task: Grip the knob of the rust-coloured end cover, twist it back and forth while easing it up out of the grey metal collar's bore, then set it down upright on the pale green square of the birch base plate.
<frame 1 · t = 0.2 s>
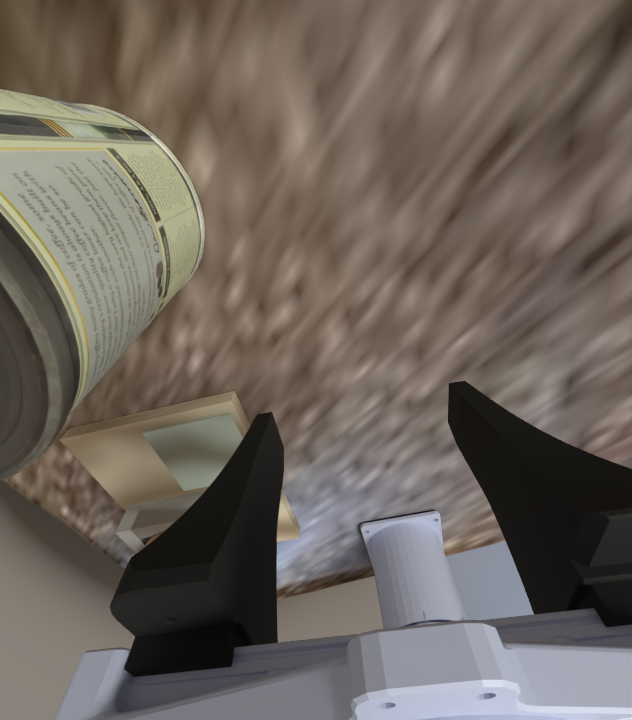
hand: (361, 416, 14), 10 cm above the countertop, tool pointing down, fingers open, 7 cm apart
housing: (198, 483, 31), on the countertop
coffee can: (115, 217, 19), on the countertop
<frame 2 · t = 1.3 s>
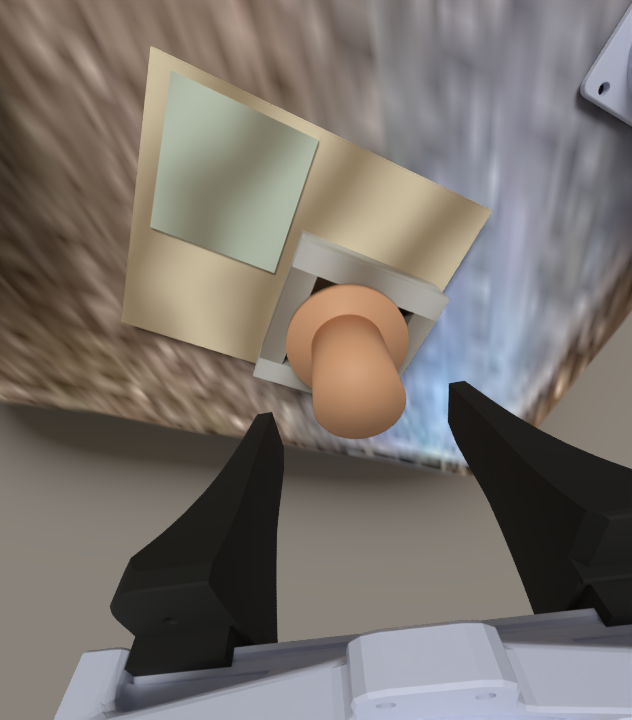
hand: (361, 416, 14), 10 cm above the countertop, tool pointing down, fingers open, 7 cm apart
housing: (293, 264, 21), on the countertop
end cover: (341, 321, 22), point 1 cm above the countertop, touching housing
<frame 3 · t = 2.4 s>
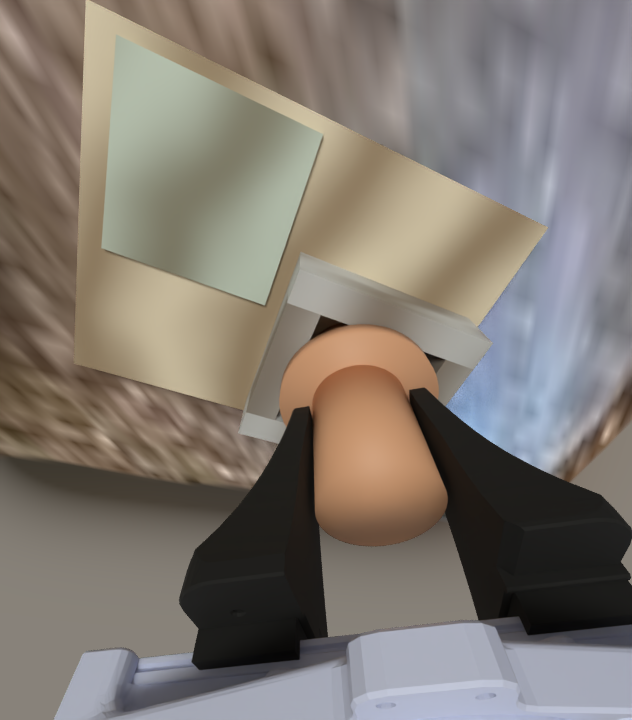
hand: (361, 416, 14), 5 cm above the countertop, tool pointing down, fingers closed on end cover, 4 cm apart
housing: (290, 292, 17), on the countertop
end cover: (349, 362, 17), point 1 cm above the countertop, touching gripper, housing
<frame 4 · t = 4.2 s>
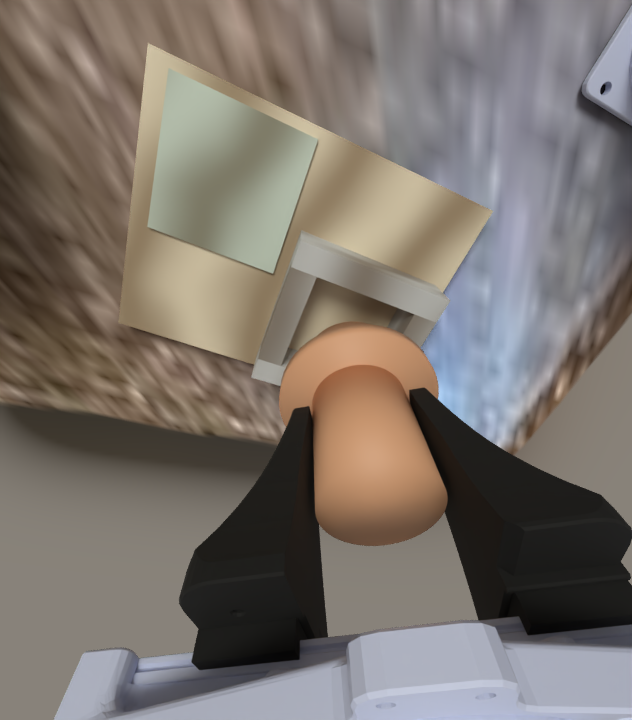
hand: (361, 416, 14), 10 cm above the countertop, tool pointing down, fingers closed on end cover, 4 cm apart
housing: (292, 265, 21), on the countertop
end cover: (349, 362, 17), point 6 cm above the countertop, touching gripper
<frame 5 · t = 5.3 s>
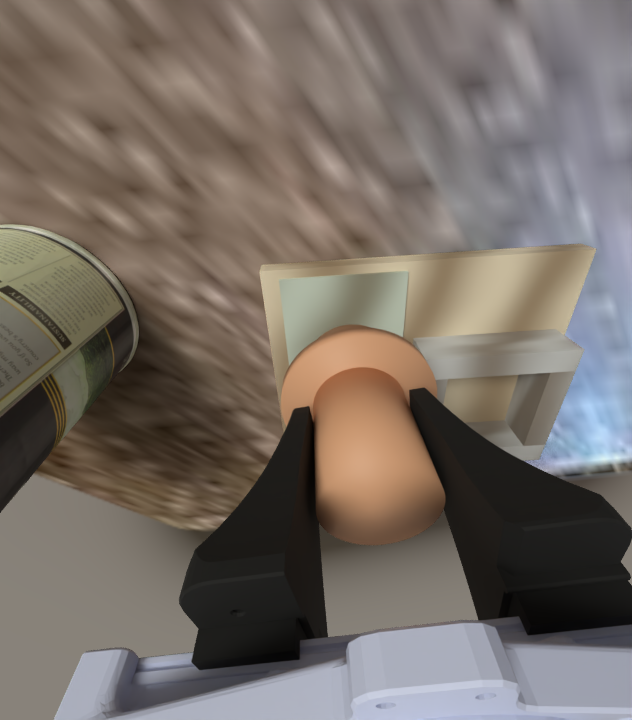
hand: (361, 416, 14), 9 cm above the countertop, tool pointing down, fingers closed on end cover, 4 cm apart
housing: (409, 359, 23), on the countertop
end cover: (350, 364, 18), point 4 cm above the countertop, touching gripper
coffee can: (54, 310, 21), on the countertop
when the fingers open (7 cm above the countertop, at t = 6.0 s): end cover stays where it is, resting on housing.
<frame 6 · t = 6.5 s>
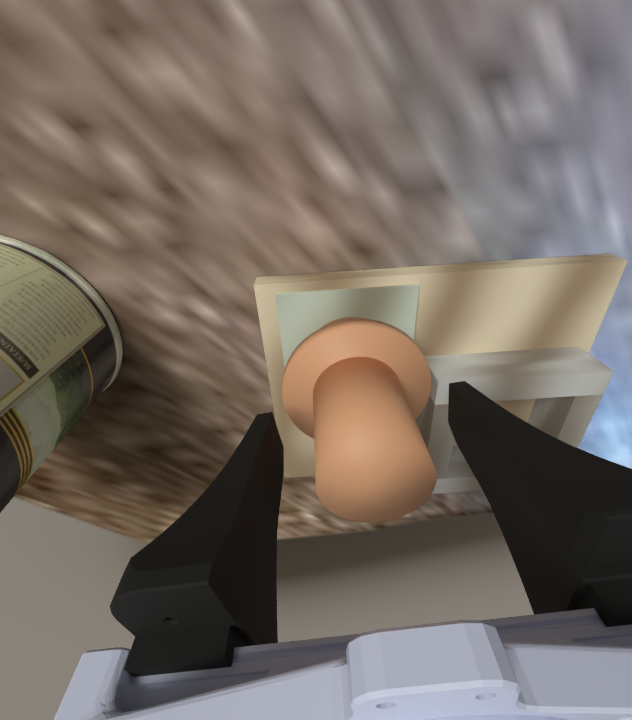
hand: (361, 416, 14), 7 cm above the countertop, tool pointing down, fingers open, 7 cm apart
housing: (418, 377, 21), on the countertop
end cover: (348, 355, 18), point 1 cm above the countertop, touching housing
coffee can: (29, 326, 19), on the countertop
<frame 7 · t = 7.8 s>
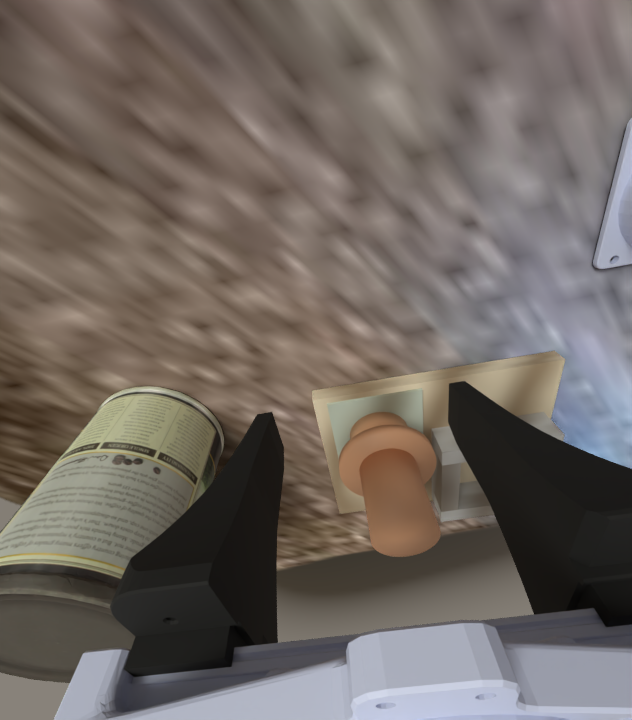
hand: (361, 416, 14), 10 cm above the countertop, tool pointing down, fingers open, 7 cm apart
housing: (430, 438, 29), on the countertop
end cover: (378, 434, 27), point 1 cm above the countertop, touching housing
coffee can: (163, 432, 28), on the countertop
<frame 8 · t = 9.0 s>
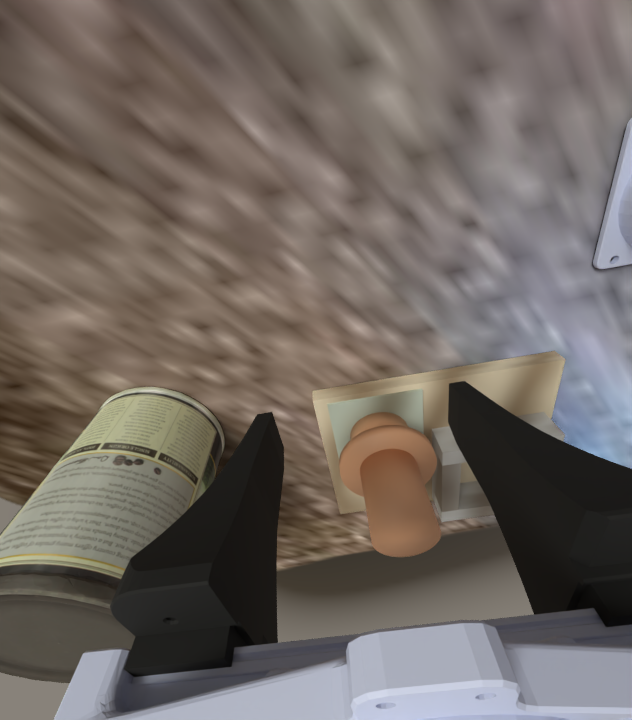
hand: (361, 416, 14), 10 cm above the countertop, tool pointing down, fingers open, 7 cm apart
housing: (430, 438, 29), on the countertop
end cover: (379, 434, 27), point 1 cm above the countertop, touching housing
coffee can: (163, 433, 28), on the countertop
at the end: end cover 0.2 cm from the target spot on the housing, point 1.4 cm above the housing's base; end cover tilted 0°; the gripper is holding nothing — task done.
